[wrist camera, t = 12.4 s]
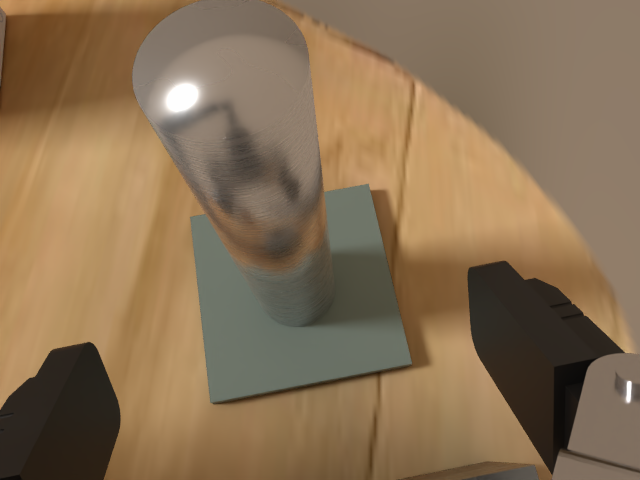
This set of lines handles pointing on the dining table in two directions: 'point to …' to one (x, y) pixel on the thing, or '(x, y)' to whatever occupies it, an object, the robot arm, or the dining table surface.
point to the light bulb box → (2, 37)
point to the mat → (311, 340)
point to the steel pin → (245, 143)
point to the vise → (483, 472)
